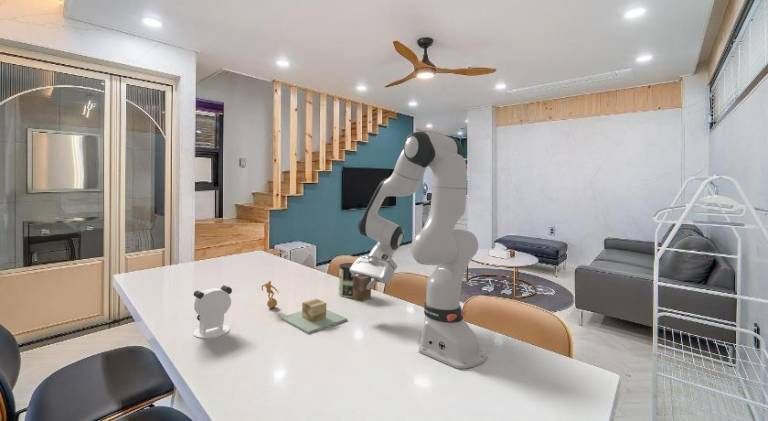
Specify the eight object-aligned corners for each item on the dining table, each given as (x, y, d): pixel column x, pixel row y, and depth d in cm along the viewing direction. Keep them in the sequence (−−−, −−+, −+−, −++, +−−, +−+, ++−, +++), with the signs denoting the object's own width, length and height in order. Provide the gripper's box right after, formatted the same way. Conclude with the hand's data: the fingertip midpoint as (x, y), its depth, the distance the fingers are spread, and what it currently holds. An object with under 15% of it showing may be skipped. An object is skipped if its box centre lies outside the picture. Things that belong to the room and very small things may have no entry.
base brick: (326, 318, 136) (326, 302, 136) (312, 322, 131) (312, 306, 131) (316, 313, 140) (316, 298, 140) (302, 317, 136) (302, 302, 135)
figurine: (283, 307, 147) (283, 279, 146) (274, 312, 142) (274, 283, 141) (266, 304, 150) (267, 277, 149) (257, 309, 144) (257, 280, 143)
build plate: (347, 320, 136) (347, 318, 136) (308, 333, 123) (308, 331, 123) (319, 308, 149) (319, 306, 148) (280, 319, 135) (280, 316, 135)
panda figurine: (222, 321, 131) (222, 282, 130) (237, 330, 124) (237, 288, 123) (187, 331, 122) (187, 289, 120) (202, 341, 114) (202, 296, 113)
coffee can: (364, 294, 170) (365, 265, 169) (349, 299, 161) (350, 269, 160) (348, 289, 176) (349, 261, 175) (334, 294, 168) (334, 265, 166)
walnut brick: (370, 299, 138) (371, 276, 138) (361, 302, 134) (361, 278, 134) (361, 296, 141) (362, 274, 141) (352, 299, 138) (352, 276, 137)
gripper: (357, 250, 149) (339, 277, 143) (393, 257, 135) (375, 287, 129) (364, 260, 153) (347, 286, 146) (400, 267, 139) (383, 297, 132)
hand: (360, 287), depth 137 cm, fingers closed on walnut brick, 5 cm apart
